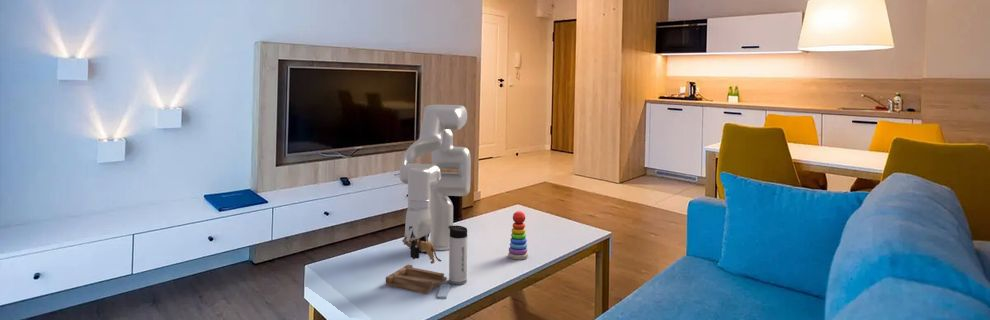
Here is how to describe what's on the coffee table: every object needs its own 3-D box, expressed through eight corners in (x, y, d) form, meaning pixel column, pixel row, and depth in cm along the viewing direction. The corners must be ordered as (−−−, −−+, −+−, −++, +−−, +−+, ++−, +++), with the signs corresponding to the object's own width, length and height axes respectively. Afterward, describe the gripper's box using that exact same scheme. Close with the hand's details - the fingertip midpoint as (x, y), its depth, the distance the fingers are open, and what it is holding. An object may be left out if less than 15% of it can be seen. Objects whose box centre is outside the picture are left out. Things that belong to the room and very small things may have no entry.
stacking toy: (531, 258, 213) (533, 212, 210) (515, 261, 209) (517, 215, 206) (520, 252, 220) (521, 208, 217) (504, 255, 215) (505, 210, 212)
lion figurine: (400, 258, 183) (399, 233, 182) (408, 254, 188) (408, 229, 187) (437, 265, 178) (437, 239, 176) (445, 260, 183) (445, 234, 181)
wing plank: (441, 287, 183) (441, 284, 183) (450, 288, 183) (450, 284, 183) (437, 299, 173) (437, 296, 173) (446, 300, 173) (446, 296, 173)
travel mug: (449, 277, 191) (449, 223, 188) (467, 278, 191) (468, 224, 187) (447, 284, 185) (447, 228, 181) (466, 285, 184) (466, 229, 181)
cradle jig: (408, 272, 195) (408, 264, 195) (446, 279, 189) (446, 271, 188) (385, 285, 183) (385, 277, 182) (426, 294, 176) (426, 285, 176)
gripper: (422, 198, 190) (422, 247, 193) (395, 208, 175) (395, 261, 177) (440, 200, 187) (440, 250, 190) (415, 210, 172) (415, 265, 174)
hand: (419, 255), depth 184 cm, fingers closed on lion figurine, 4 cm apart
